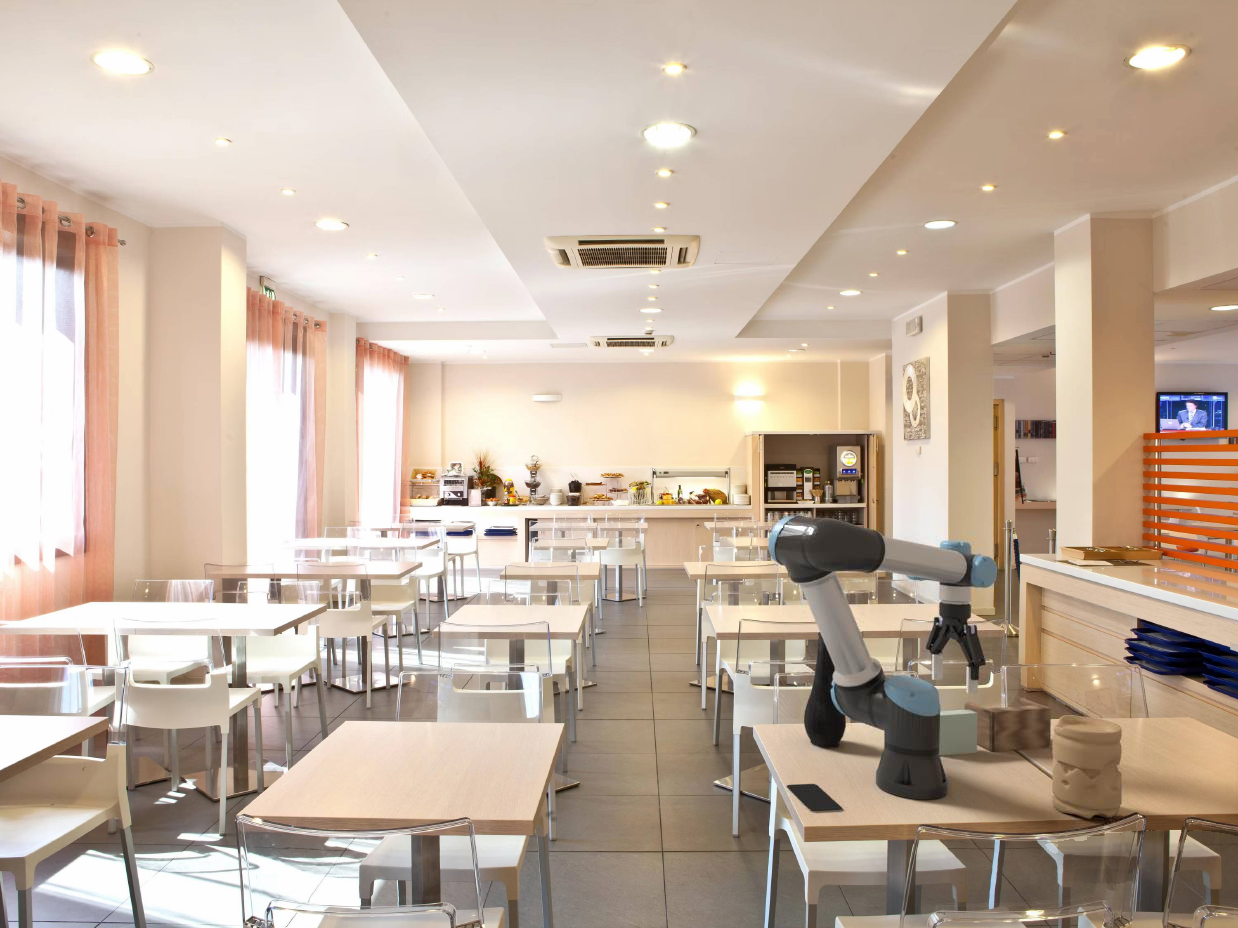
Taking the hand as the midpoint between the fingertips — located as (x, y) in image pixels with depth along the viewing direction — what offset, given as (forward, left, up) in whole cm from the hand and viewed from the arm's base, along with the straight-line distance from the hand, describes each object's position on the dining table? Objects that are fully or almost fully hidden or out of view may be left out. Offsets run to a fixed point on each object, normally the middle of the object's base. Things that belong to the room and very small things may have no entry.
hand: (954, 686), depth 208 cm
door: (0, 0, -17) cm, 17 cm away
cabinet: (+19, +6, -17) cm, 26 cm away
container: (+3, -38, -17) cm, 42 cm away
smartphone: (-50, -20, -17) cm, 56 cm away
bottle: (-29, +13, -17) cm, 36 cm away
